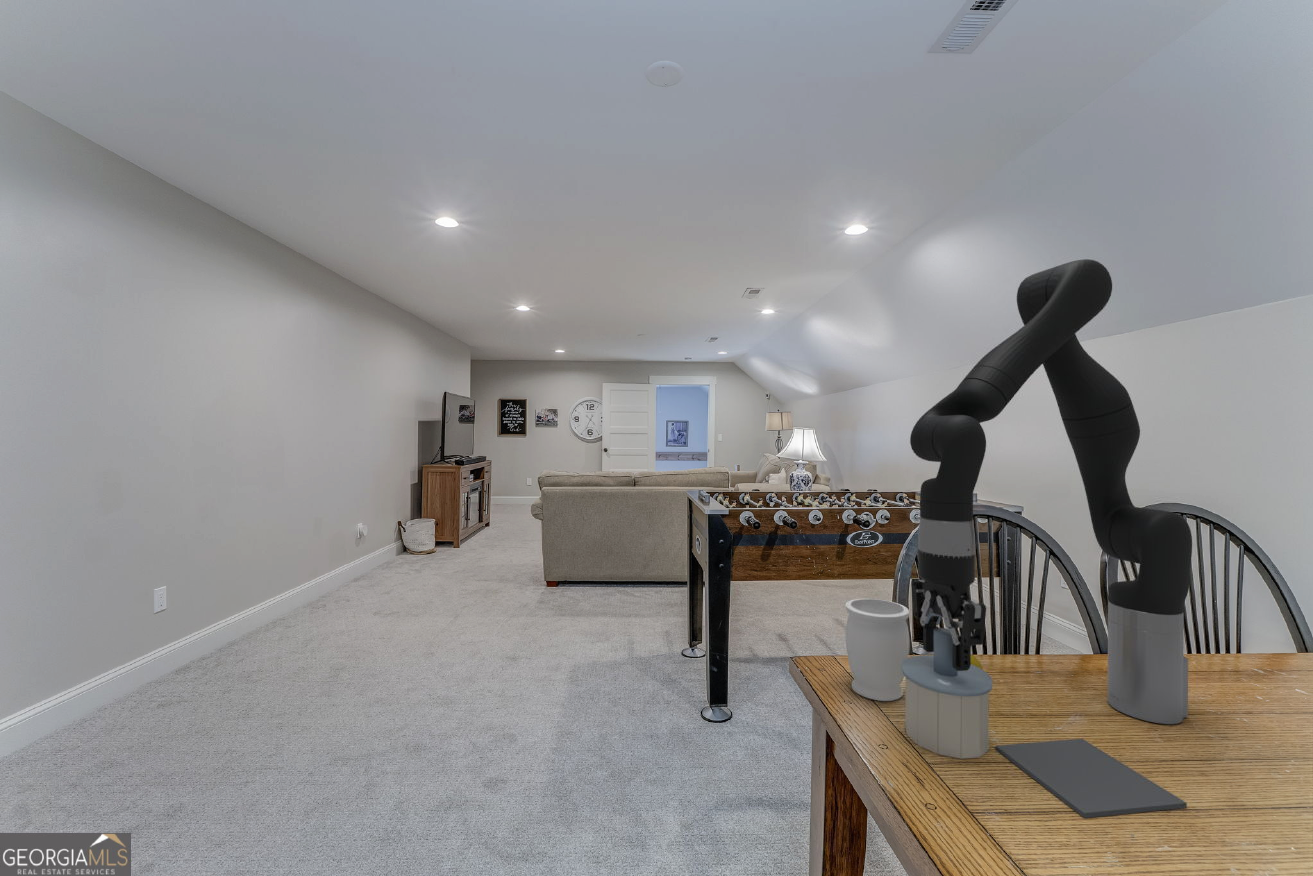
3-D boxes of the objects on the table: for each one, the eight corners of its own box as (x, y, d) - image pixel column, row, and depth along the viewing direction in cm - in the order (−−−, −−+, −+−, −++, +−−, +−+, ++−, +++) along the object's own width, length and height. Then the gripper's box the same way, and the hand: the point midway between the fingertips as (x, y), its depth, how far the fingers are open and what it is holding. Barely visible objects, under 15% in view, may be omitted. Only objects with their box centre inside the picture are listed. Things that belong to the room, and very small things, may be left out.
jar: (876, 710, 89) (876, 619, 89) (832, 684, 98) (832, 601, 98) (923, 698, 93) (923, 611, 93) (876, 673, 103) (876, 595, 103)
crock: (954, 715, 87) (954, 660, 87) (1005, 755, 77) (1005, 691, 76) (891, 720, 86) (891, 663, 86) (934, 761, 75) (935, 696, 75)
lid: (955, 658, 88) (955, 616, 88) (1012, 693, 76) (1013, 645, 76) (886, 662, 86) (886, 620, 86) (933, 698, 74) (934, 649, 74)
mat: (1082, 742, 80) (1082, 738, 80) (1186, 807, 66) (1186, 802, 66) (995, 749, 78) (995, 745, 78) (1084, 818, 64) (1084, 813, 64)
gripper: (1005, 558, 74) (1004, 680, 74) (938, 538, 89) (937, 640, 89) (955, 560, 73) (954, 683, 74) (895, 539, 88) (895, 642, 88)
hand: (945, 659), depth 81 cm, fingers open, 6 cm apart
